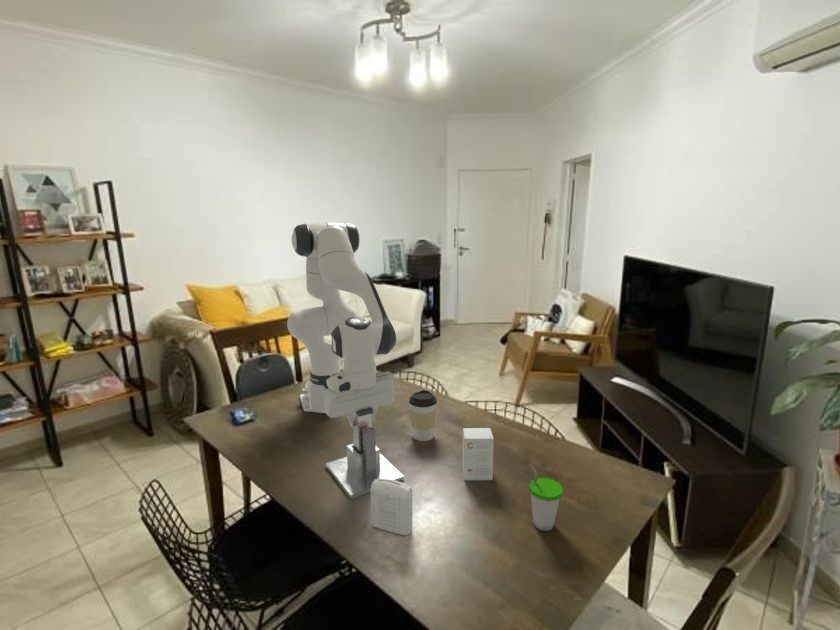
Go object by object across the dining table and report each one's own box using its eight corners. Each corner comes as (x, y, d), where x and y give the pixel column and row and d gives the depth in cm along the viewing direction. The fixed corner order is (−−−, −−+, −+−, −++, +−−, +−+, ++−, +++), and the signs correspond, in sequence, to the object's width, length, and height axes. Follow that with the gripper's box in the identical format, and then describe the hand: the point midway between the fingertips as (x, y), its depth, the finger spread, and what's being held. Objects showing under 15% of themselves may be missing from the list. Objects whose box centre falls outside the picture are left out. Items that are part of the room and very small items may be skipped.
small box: (489, 468, 132) (491, 427, 129) (492, 480, 126) (494, 438, 123) (461, 468, 132) (462, 427, 129) (463, 481, 126) (464, 438, 123)
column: (353, 465, 131) (350, 404, 126) (365, 461, 133) (363, 401, 128) (361, 475, 126) (359, 412, 121) (374, 471, 128) (372, 409, 124)
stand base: (326, 466, 133) (323, 418, 129) (374, 451, 141) (373, 405, 138) (351, 499, 118) (348, 445, 115) (403, 479, 127) (402, 429, 123)
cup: (567, 531, 106) (571, 474, 103) (539, 539, 104) (542, 481, 100) (547, 510, 113) (550, 457, 110) (520, 518, 111) (523, 463, 107)
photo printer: (415, 526, 108) (414, 480, 105) (408, 538, 104) (407, 491, 101) (376, 516, 112) (375, 471, 109) (368, 527, 108) (366, 481, 105)
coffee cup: (434, 444, 146) (434, 400, 142) (406, 441, 147) (406, 398, 144) (438, 430, 154) (438, 389, 151) (412, 428, 156) (412, 387, 152)
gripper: (388, 366, 131) (389, 410, 134) (320, 381, 120) (323, 428, 124) (399, 373, 126) (399, 418, 129) (329, 388, 115) (332, 438, 118)
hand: (361, 423), depth 126 cm, fingers closed on column, 4 cm apart
